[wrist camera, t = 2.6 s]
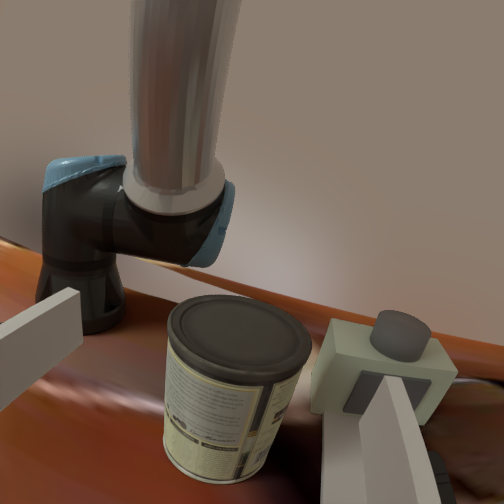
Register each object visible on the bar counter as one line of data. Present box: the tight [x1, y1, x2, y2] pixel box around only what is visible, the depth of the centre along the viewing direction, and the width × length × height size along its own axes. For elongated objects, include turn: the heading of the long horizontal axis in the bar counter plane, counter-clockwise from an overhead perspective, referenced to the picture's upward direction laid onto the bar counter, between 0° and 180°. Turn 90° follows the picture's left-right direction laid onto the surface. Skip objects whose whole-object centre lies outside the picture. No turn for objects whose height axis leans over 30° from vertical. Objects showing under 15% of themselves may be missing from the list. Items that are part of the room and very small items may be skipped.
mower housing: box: [310, 310, 458, 504], centre depth 26 cm, size 21×16×12 cm
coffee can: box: [163, 295, 312, 484], centre depth 23 cm, size 10×10×14 cm
